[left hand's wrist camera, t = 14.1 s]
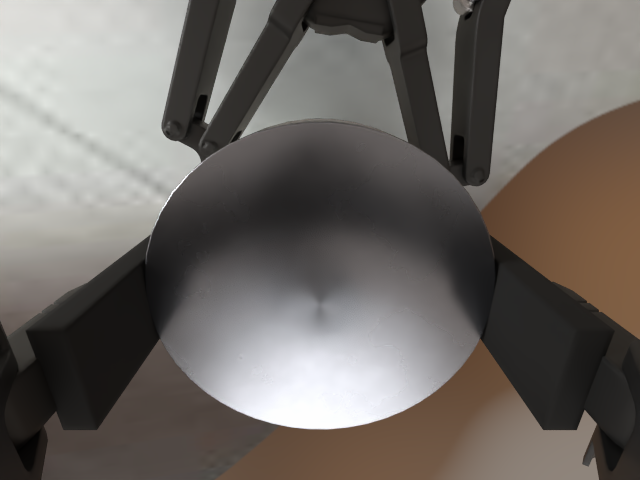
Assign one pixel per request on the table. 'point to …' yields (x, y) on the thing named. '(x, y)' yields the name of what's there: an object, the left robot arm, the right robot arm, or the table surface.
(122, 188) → the table surface
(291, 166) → the lid
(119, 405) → the table surface
